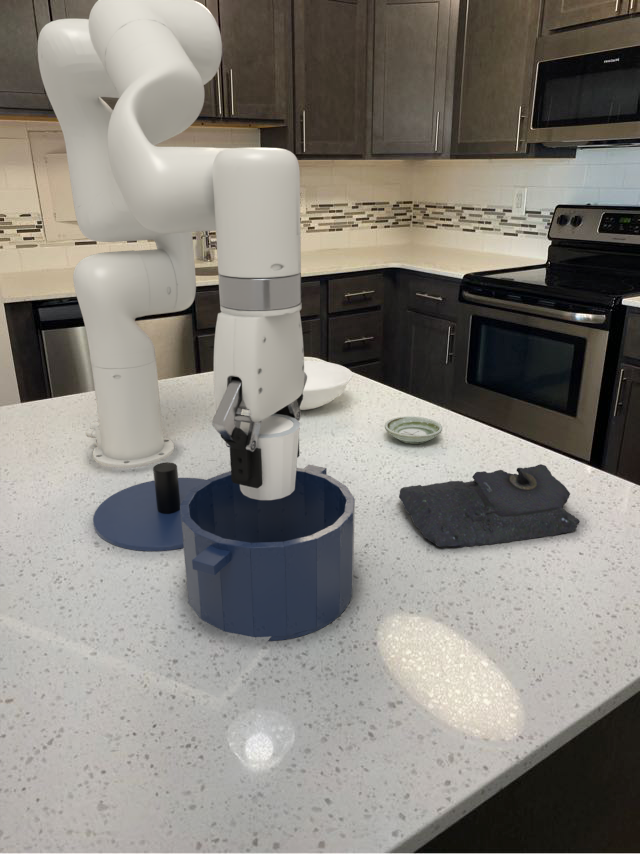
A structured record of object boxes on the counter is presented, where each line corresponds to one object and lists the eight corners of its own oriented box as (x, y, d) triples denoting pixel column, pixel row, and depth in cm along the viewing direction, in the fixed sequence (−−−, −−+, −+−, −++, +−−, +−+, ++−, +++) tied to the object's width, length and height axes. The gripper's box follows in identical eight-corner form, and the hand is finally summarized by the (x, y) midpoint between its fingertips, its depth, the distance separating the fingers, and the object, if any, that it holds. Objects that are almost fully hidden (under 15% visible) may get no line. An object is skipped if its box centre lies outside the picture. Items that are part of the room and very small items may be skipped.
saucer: (448, 434, 114) (449, 420, 114) (430, 453, 106) (431, 439, 106) (396, 424, 119) (397, 412, 118) (375, 443, 111) (375, 429, 110)
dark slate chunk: (386, 497, 92) (387, 465, 91) (527, 479, 97) (530, 449, 96) (430, 554, 78) (432, 518, 77) (592, 530, 84) (597, 496, 82)
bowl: (305, 383, 142) (305, 354, 140) (373, 406, 128) (374, 374, 126) (229, 404, 129) (228, 373, 127) (295, 431, 116) (295, 397, 113)
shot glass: (292, 506, 64) (291, 439, 62) (224, 499, 66) (220, 434, 63) (307, 476, 71) (307, 414, 68) (245, 471, 72) (243, 410, 69)
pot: (135, 625, 66) (124, 534, 63) (256, 522, 86) (253, 447, 82) (292, 681, 59) (290, 581, 55) (385, 555, 78) (388, 474, 75)
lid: (61, 533, 83) (52, 482, 81) (158, 475, 99) (154, 430, 97) (184, 570, 75) (179, 514, 73) (268, 501, 91) (267, 453, 89)
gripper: (272, 278, 70) (277, 435, 76) (168, 306, 55) (184, 497, 62) (337, 282, 67) (336, 446, 73) (244, 313, 52) (253, 514, 58)
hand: (266, 468), depth 67 cm, fingers closed on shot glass, 6 cm apart
